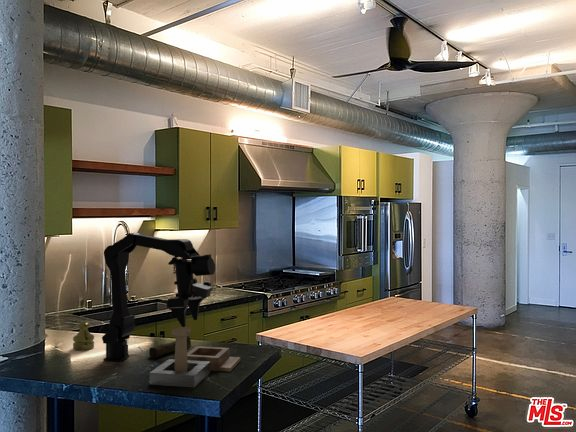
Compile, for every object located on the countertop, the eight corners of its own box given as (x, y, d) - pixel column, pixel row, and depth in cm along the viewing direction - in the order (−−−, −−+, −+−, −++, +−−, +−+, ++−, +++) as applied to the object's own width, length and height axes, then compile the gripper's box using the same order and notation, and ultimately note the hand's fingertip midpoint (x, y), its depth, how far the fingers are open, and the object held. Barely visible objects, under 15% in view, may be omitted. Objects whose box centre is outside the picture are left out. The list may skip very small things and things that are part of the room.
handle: (193, 376, 155) (193, 328, 155) (181, 382, 149) (181, 332, 149) (180, 374, 157) (180, 326, 157) (168, 380, 151) (168, 331, 151)
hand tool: (156, 359, 173) (156, 346, 173) (148, 358, 175) (148, 344, 175) (195, 348, 188) (195, 335, 188) (188, 346, 191) (188, 334, 191)
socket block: (149, 384, 148) (149, 372, 148) (169, 369, 161) (169, 359, 161) (194, 387, 145) (194, 375, 145) (210, 372, 159) (210, 361, 159)
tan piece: (171, 367, 163) (171, 355, 163) (185, 357, 175) (185, 345, 175) (230, 371, 160) (230, 358, 160) (240, 360, 171) (240, 348, 171)
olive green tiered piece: (68, 350, 184) (68, 323, 184) (81, 345, 191) (81, 319, 191) (86, 351, 182) (86, 324, 182) (98, 346, 189) (98, 320, 189)
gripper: (195, 279, 155) (200, 329, 155) (217, 271, 173) (222, 315, 173) (162, 282, 158) (168, 331, 158) (188, 273, 176) (193, 317, 176)
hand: (189, 323), depth 166 cm, fingers open, 9 cm apart
